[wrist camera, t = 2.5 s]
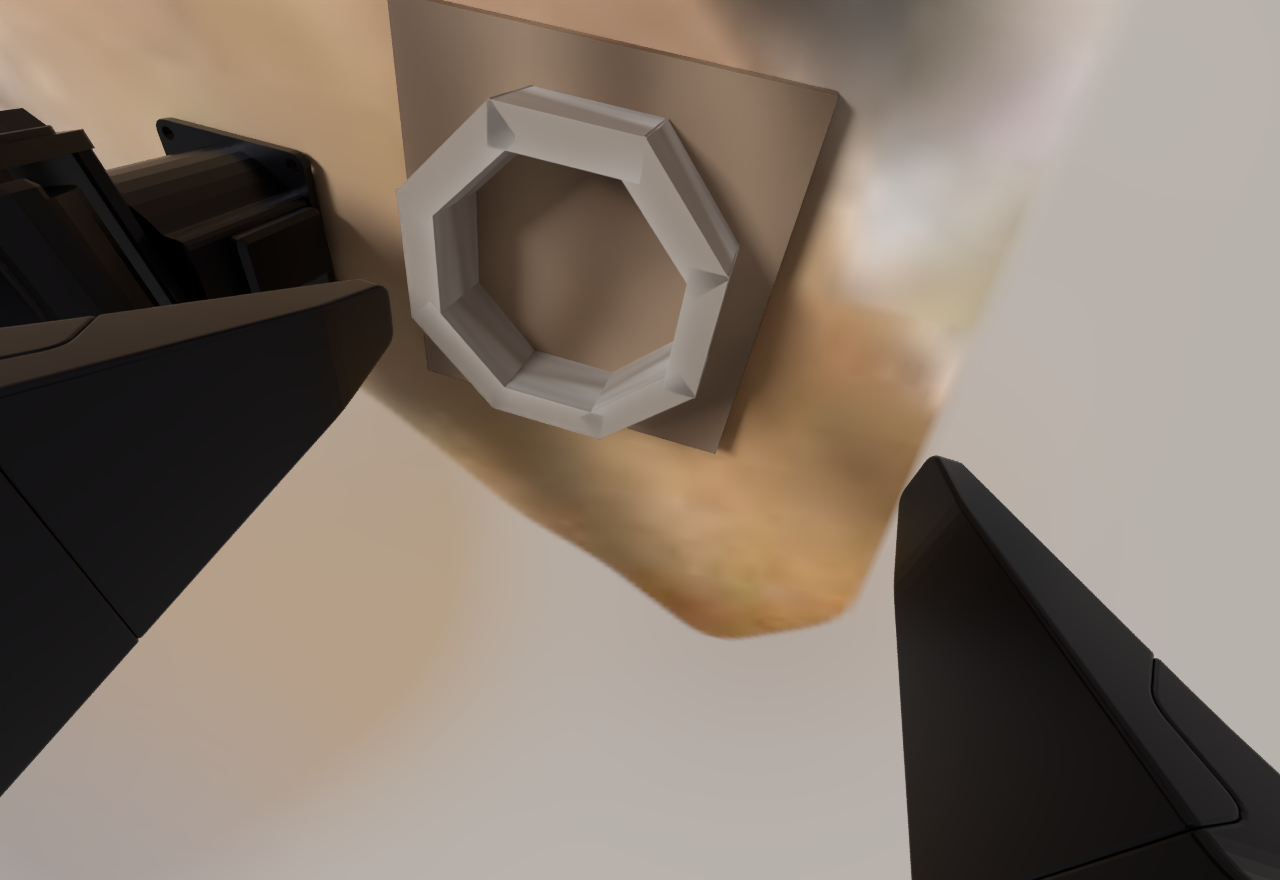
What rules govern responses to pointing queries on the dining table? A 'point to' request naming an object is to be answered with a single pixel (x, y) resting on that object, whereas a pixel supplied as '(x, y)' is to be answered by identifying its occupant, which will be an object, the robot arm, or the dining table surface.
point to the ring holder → (593, 216)
